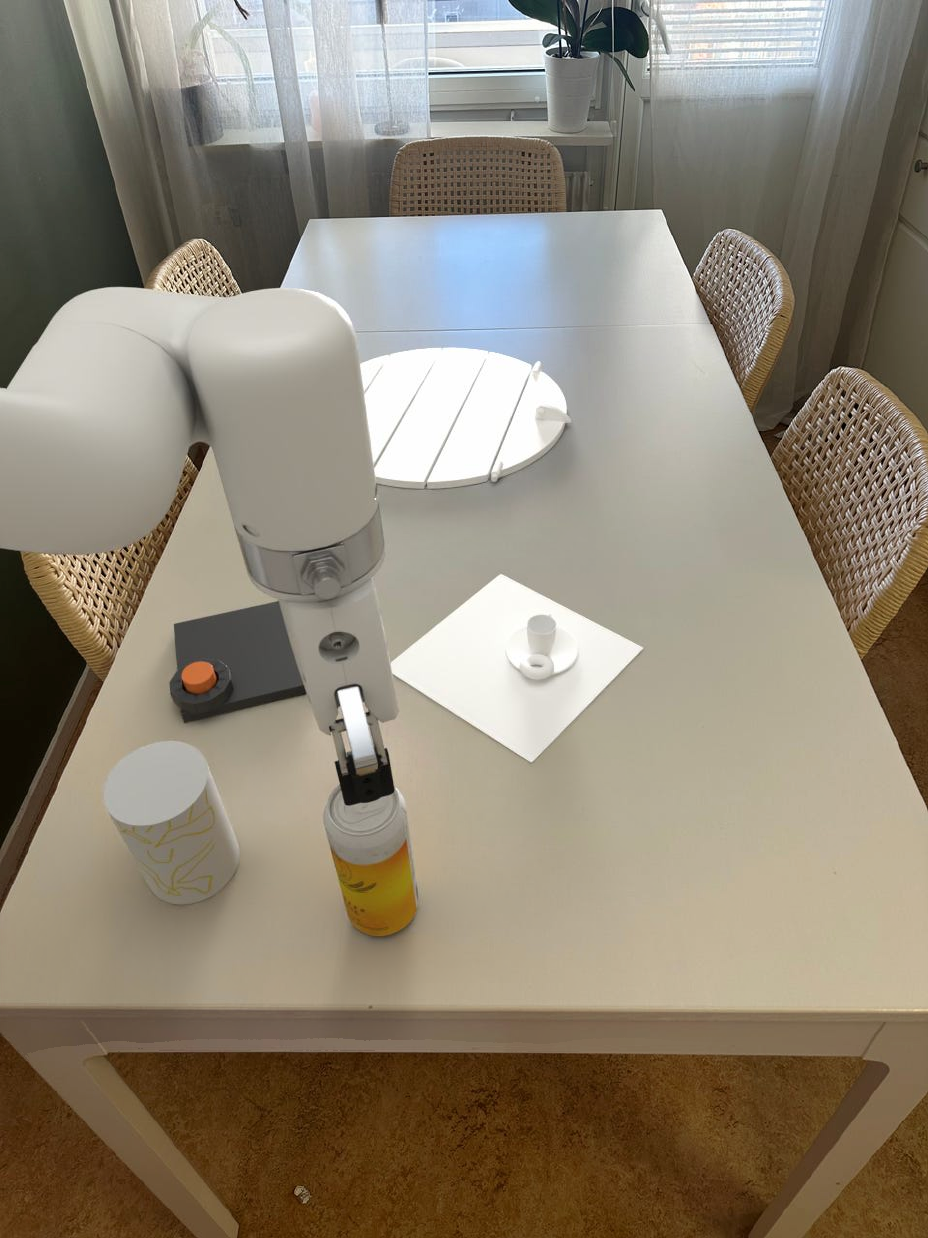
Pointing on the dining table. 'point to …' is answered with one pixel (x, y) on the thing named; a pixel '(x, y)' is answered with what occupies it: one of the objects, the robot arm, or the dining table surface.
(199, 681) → the power button
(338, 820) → the beer can
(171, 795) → the cup
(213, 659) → the scale
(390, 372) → the lazy susan
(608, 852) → the dining table surface
